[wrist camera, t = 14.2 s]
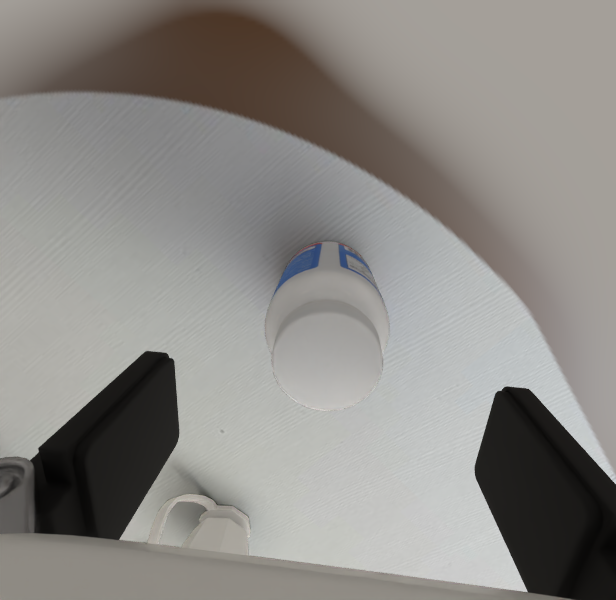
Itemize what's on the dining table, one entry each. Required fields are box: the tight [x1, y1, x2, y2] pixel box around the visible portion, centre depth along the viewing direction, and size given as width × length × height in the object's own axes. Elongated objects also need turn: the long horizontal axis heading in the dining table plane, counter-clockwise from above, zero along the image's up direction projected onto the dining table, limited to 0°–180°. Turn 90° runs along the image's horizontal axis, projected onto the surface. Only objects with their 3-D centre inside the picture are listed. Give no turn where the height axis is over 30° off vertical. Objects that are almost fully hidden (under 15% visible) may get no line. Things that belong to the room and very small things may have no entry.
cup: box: [147, 494, 251, 556], centre depth 25 cm, size 7×10×8 cm
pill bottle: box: [265, 241, 390, 411], centre depth 17 cm, size 6×5×10 cm
